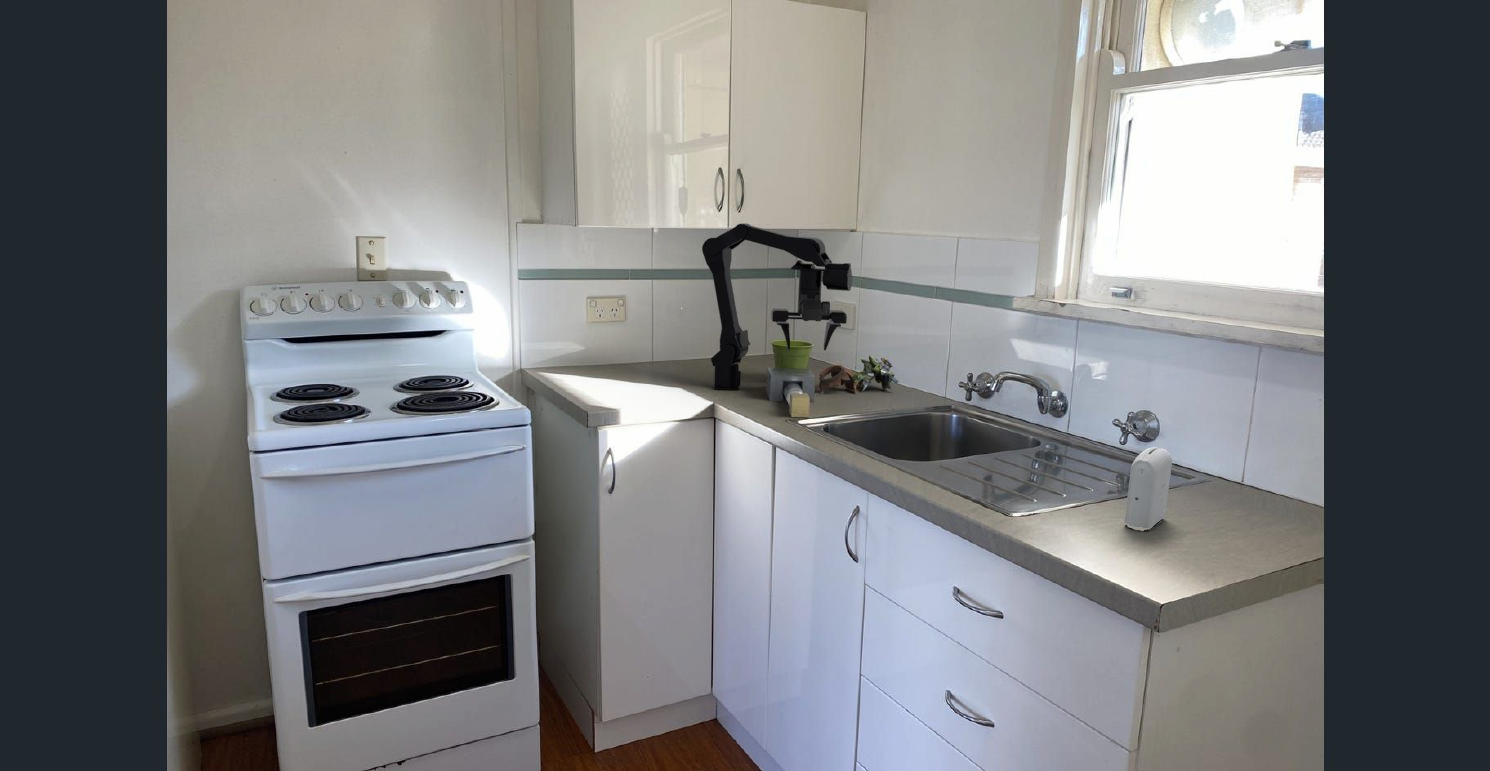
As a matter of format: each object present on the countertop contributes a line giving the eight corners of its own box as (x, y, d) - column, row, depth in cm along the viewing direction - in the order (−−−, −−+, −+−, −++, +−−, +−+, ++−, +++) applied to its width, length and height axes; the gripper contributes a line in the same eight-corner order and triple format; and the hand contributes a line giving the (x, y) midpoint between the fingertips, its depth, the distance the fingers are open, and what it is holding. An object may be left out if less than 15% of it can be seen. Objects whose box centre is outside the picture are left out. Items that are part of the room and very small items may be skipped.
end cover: (783, 400, 228) (784, 382, 227) (800, 401, 229) (801, 383, 228) (790, 416, 211) (791, 397, 210) (809, 417, 211) (810, 397, 211)
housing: (766, 391, 239) (767, 367, 238) (808, 392, 240) (809, 368, 239) (770, 400, 229) (771, 375, 227) (813, 401, 229) (815, 376, 228)
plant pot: (805, 389, 244) (807, 347, 242) (763, 385, 248) (764, 344, 246) (816, 381, 255) (818, 341, 253) (776, 377, 259) (777, 338, 257)
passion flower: (882, 409, 248) (909, 378, 242) (856, 406, 241) (882, 374, 235) (861, 380, 255) (887, 349, 249) (835, 377, 247) (860, 344, 242)
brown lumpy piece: (861, 398, 238) (849, 372, 235) (827, 411, 240) (815, 386, 237) (856, 378, 249) (844, 353, 246) (824, 391, 251) (812, 366, 247)
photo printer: (1148, 534, 142) (1158, 457, 140) (1120, 527, 145) (1129, 452, 143) (1168, 518, 150) (1177, 445, 148) (1141, 512, 153) (1150, 440, 150)
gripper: (775, 290, 222) (773, 354, 225) (852, 292, 223) (848, 356, 226) (771, 286, 233) (769, 347, 236) (844, 288, 234) (841, 348, 237)
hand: (806, 349), depth 234 cm, fingers open, 9 cm apart
